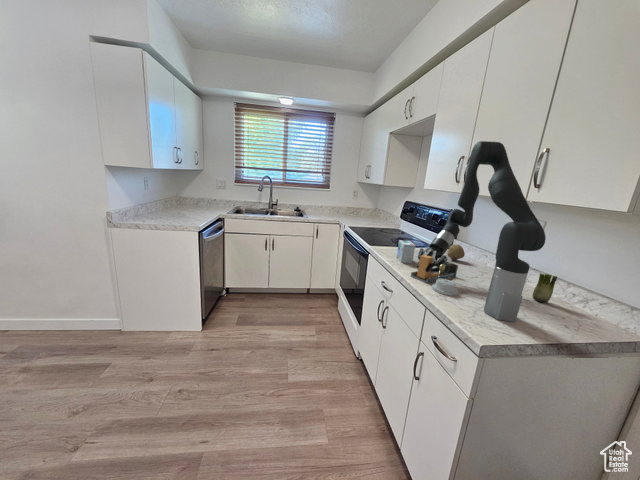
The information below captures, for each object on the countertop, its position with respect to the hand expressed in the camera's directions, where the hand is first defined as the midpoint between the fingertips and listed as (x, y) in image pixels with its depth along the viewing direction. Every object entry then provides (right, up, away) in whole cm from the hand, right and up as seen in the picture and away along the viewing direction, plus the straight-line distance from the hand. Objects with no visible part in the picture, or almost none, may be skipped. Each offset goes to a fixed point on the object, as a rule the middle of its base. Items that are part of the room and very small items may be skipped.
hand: (422, 269), depth 118 cm
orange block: (+3, -4, +3) cm, 6 cm away
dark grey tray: (+8, -4, +7) cm, 12 cm away
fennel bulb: (+44, -12, -11) cm, 48 cm away
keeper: (+15, -4, +12) cm, 20 cm away
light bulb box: (+1, +1, +30) cm, 30 cm away
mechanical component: (+6, -8, -9) cm, 14 cm away
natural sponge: (+35, +1, +39) cm, 53 cm away
